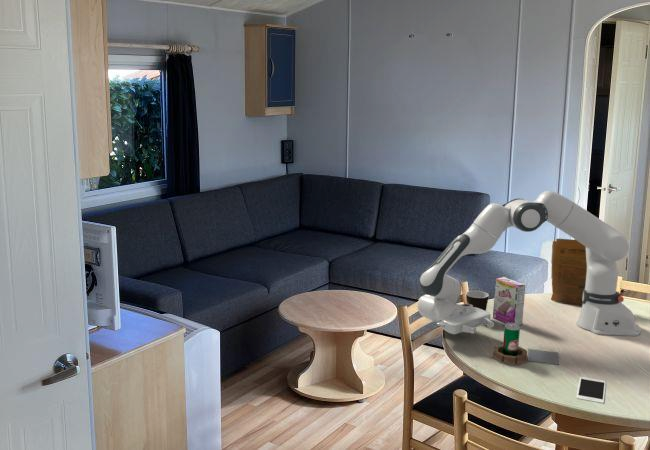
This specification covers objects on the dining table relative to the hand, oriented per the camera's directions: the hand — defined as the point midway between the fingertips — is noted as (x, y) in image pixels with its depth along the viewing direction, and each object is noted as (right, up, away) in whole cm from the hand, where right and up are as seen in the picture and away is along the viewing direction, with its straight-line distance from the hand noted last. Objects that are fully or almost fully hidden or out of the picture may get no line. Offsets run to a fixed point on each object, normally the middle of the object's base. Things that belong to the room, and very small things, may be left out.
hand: (483, 328), depth 253 cm
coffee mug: (+3, 0, +30) cm, 30 cm away
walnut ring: (+7, -9, -7) cm, 14 cm away
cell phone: (+27, -15, -30) cm, 43 cm away
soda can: (+7, -9, -7) cm, 14 cm away
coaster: (+19, -9, -7) cm, 22 cm away
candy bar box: (+15, -1, +26) cm, 30 cm away
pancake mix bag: (+47, +3, +48) cm, 67 cm away
